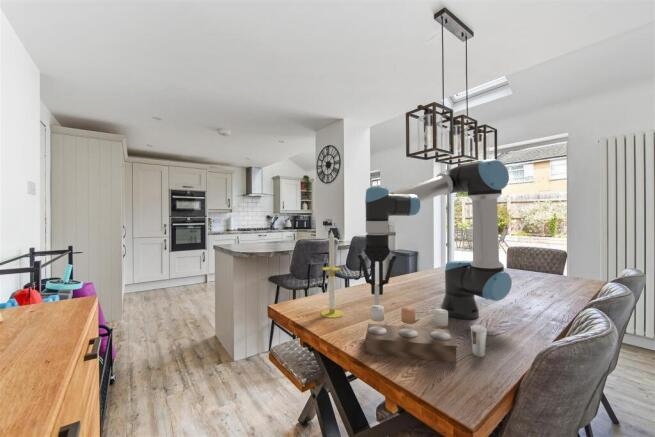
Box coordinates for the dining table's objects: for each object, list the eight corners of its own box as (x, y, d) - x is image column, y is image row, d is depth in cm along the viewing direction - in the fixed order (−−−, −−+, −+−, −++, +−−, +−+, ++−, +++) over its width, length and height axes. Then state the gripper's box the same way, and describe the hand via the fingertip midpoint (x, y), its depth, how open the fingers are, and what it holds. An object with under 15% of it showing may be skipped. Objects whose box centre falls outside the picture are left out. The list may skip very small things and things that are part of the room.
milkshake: (465, 351, 92) (465, 320, 92) (481, 350, 93) (481, 320, 92) (473, 358, 88) (473, 326, 87) (490, 357, 88) (490, 325, 88)
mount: (448, 344, 97) (448, 328, 97) (456, 362, 85) (456, 344, 85) (368, 337, 103) (368, 322, 103) (365, 353, 91) (365, 336, 91)
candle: (336, 319, 120) (335, 230, 119) (316, 315, 125) (315, 229, 124) (347, 312, 128) (346, 229, 127) (328, 308, 134) (327, 228, 133)
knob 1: (384, 317, 98) (384, 305, 98) (383, 321, 93) (383, 309, 93) (371, 316, 99) (371, 304, 99) (370, 320, 94) (370, 308, 94)
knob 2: (446, 321, 93) (446, 309, 93) (449, 326, 89) (449, 313, 89) (432, 320, 94) (432, 308, 94) (434, 325, 90) (434, 312, 90)
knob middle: (414, 319, 96) (414, 307, 95) (415, 324, 91) (415, 311, 91) (401, 318, 97) (401, 306, 96) (401, 323, 92) (401, 310, 92)
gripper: (396, 233, 98) (396, 301, 98) (358, 232, 100) (358, 299, 101) (397, 234, 90) (397, 309, 91) (356, 234, 93) (356, 306, 94)
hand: (377, 303), depth 96 cm, fingers closed
